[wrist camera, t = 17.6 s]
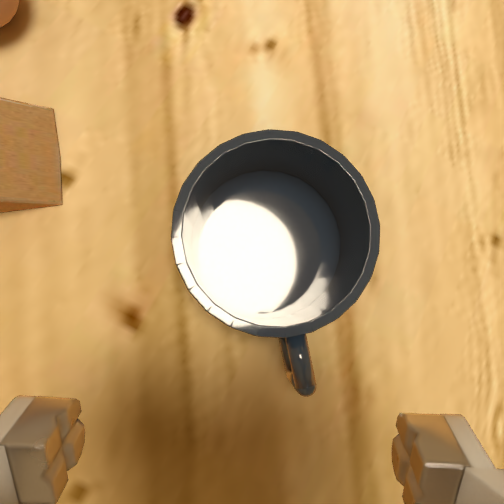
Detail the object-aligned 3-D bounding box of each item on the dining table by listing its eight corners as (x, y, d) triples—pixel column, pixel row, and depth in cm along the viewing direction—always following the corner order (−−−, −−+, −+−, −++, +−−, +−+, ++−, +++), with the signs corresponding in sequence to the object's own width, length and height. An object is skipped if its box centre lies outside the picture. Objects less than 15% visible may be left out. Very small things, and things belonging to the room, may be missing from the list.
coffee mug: (170, 181, 35) (154, 148, 27) (326, 153, 36) (355, 114, 28) (211, 393, 33) (206, 426, 25) (371, 358, 34) (415, 379, 26)
